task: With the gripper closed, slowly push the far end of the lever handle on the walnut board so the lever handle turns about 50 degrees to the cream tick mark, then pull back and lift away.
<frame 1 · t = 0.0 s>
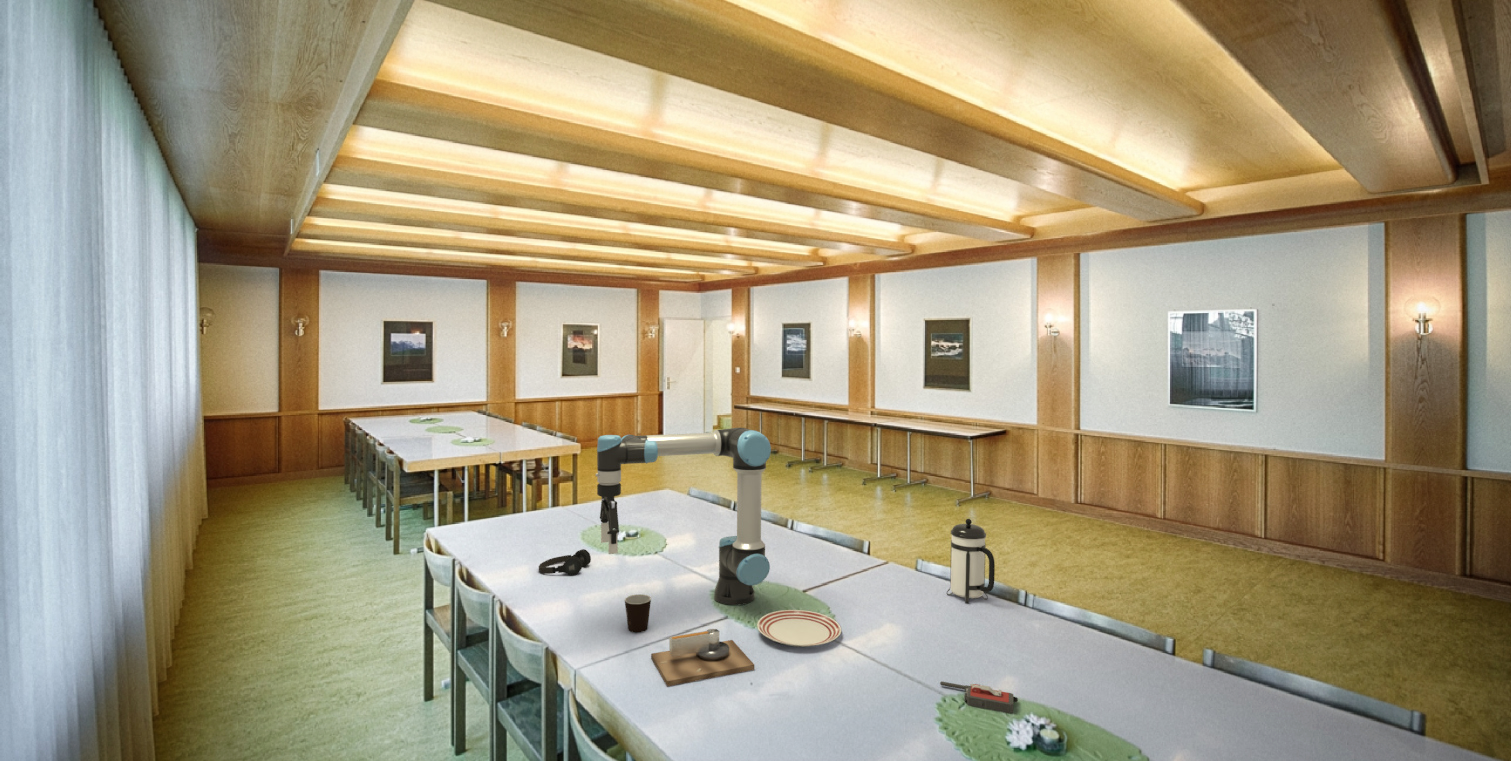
hand: (609, 547, 215), 28 cm above the table, fingers open, 13 cm apart
coffee press: (970, 598, 250), on the table
lever handle: (699, 644, 196), point 5 cm above the table, hinge at 0.0°
walkie-talkie: (977, 701, 176), on the table
dial board: (701, 664, 194), on the table
coffee mug: (639, 627, 221), on the table
headphones: (563, 570, 279), on the table
dinner plate: (798, 635, 216), on the table
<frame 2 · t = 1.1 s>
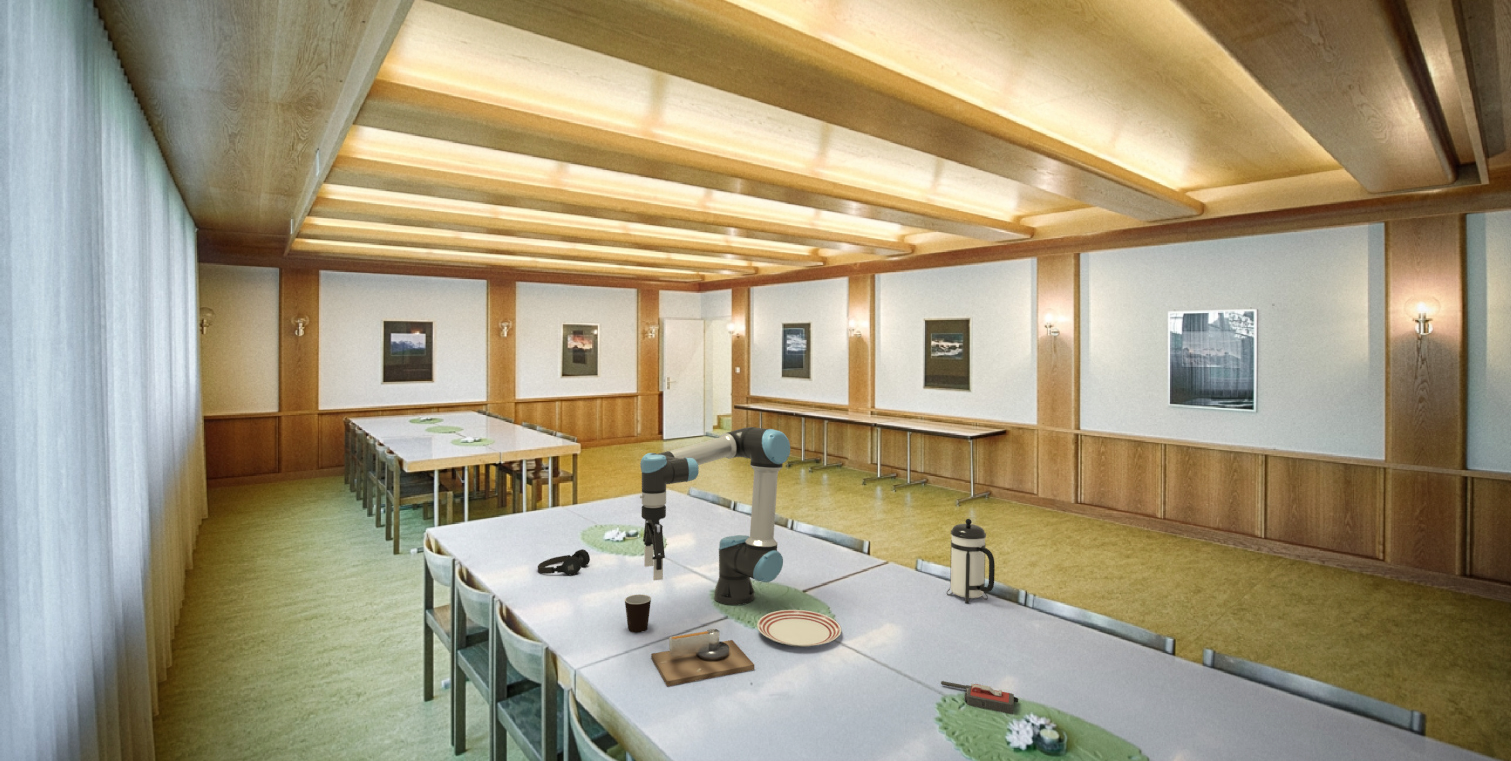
hand: (653, 572, 206), 23 cm above the table, fingers open, 13 cm apart
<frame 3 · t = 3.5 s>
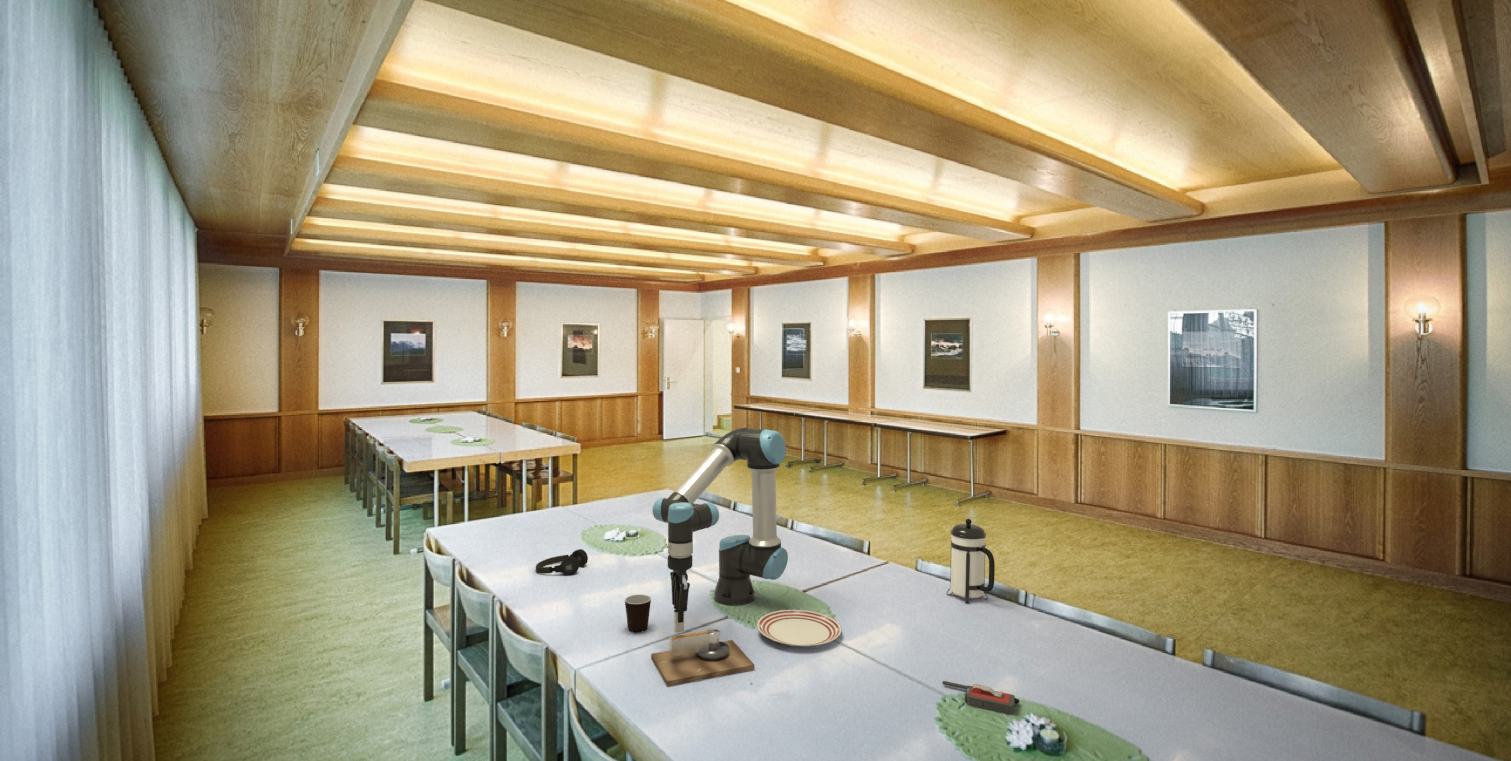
hand: (679, 631, 201), 7 cm above the table, fingers closed
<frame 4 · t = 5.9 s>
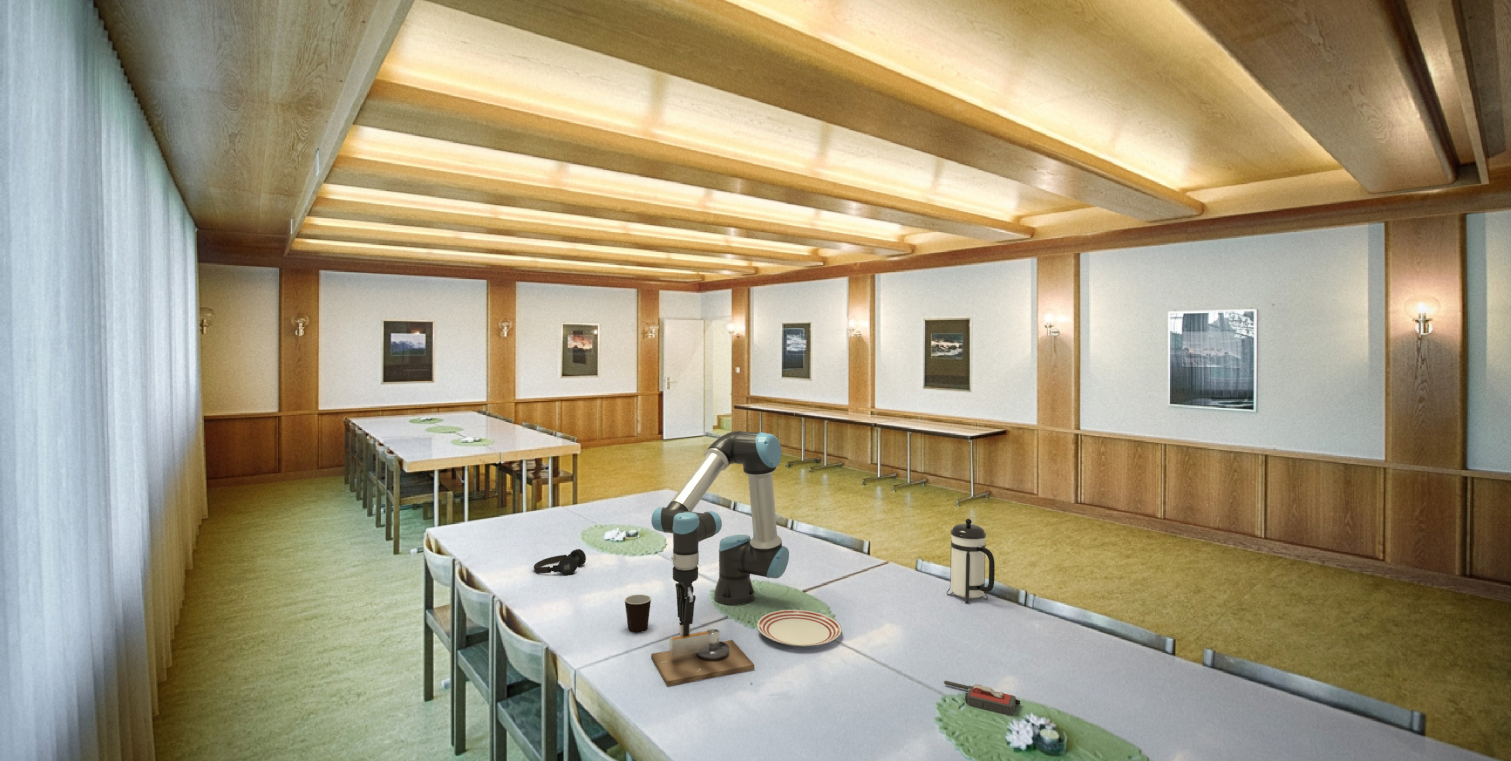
hand: (684, 644, 196), 5 cm above the table, fingers closed
lever handle: (700, 644, 196), point 5 cm above the table, hinge at 1.9°, touching gripper
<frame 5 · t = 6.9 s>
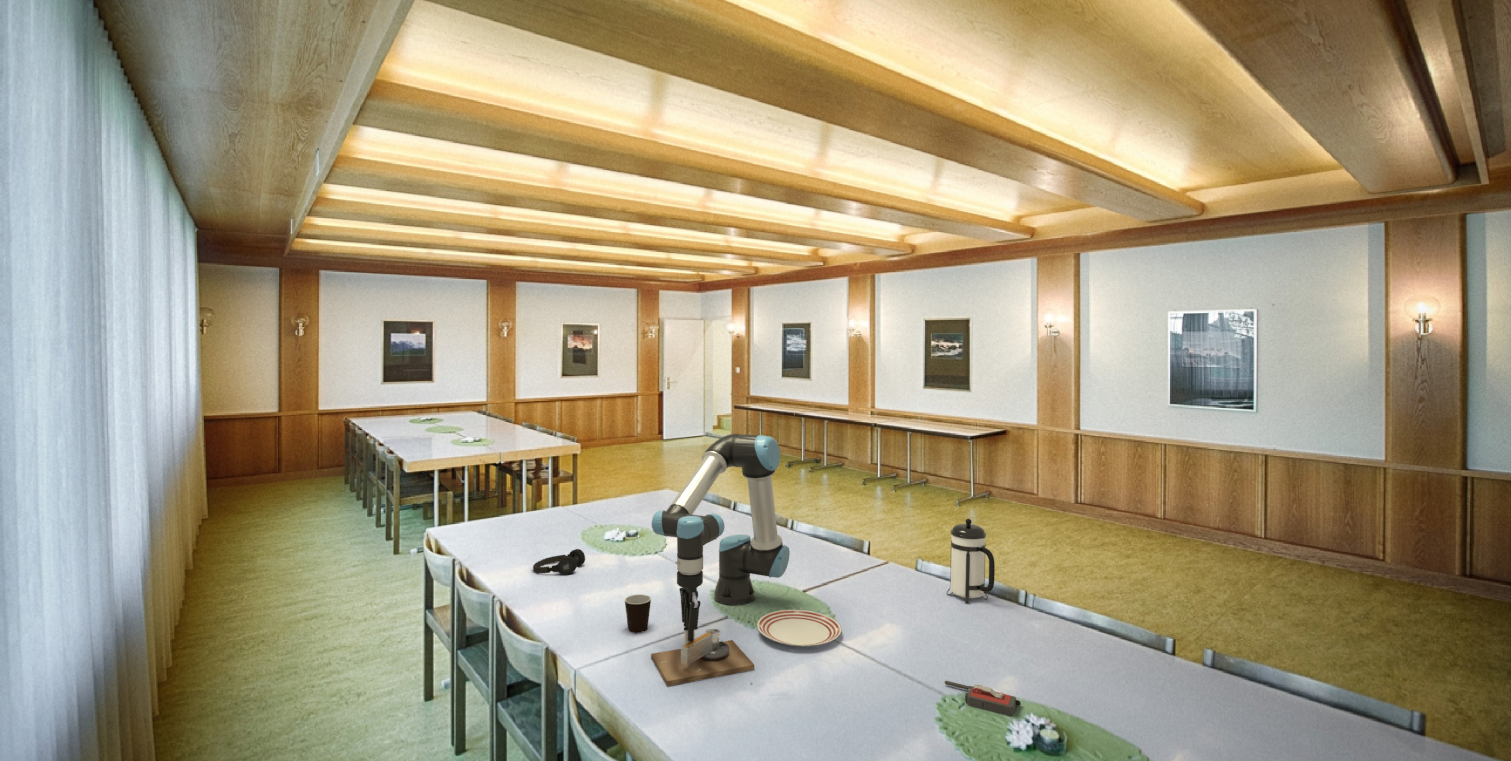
hand: (689, 649, 193), 5 cm above the table, fingers closed
lever handle: (704, 646, 194), point 5 cm above the table, hinge at 32.4°, touching gripper
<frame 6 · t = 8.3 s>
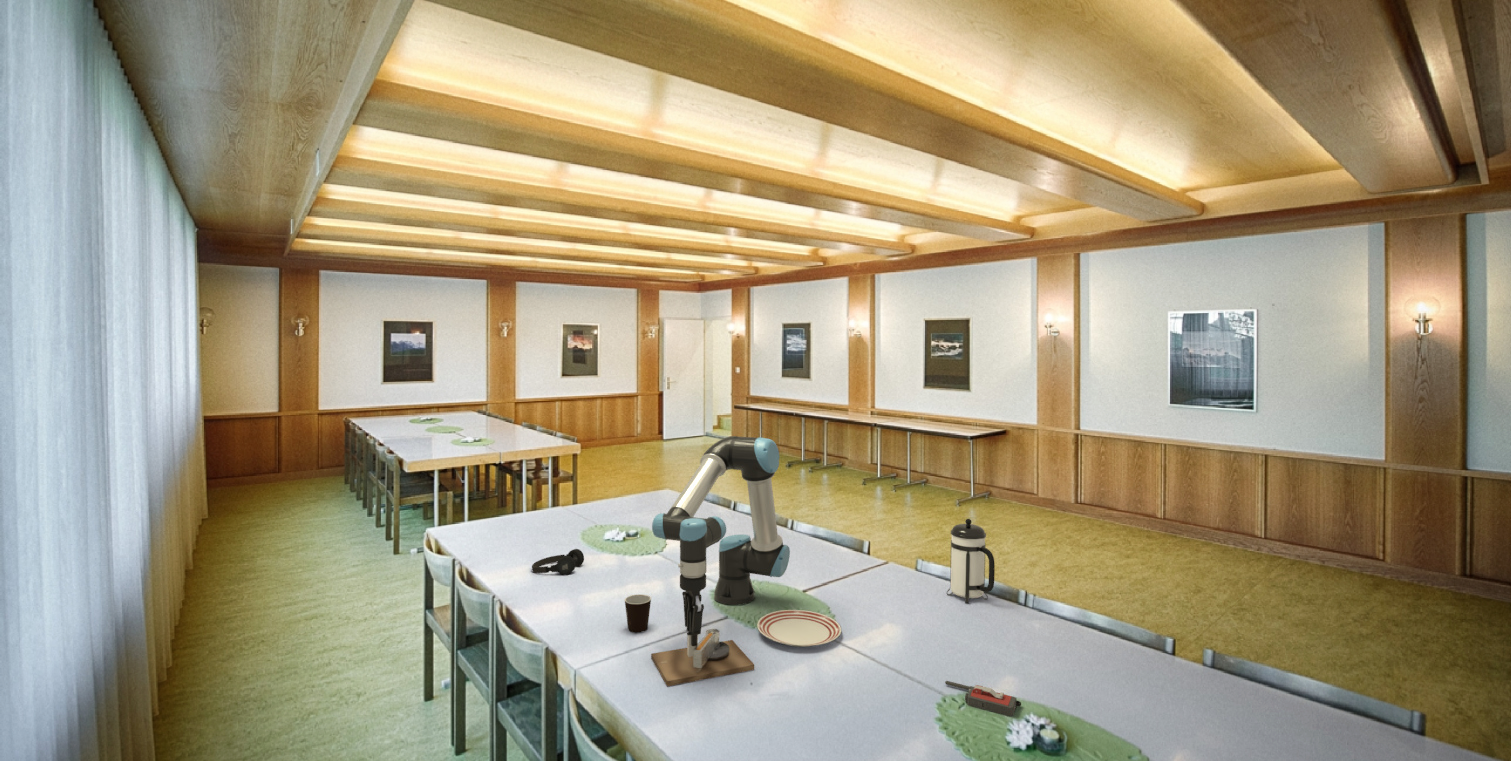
hand: (692, 654, 190), 5 cm above the table, fingers closed
lever handle: (708, 647, 194), point 5 cm above the table, hinge at 51.6°
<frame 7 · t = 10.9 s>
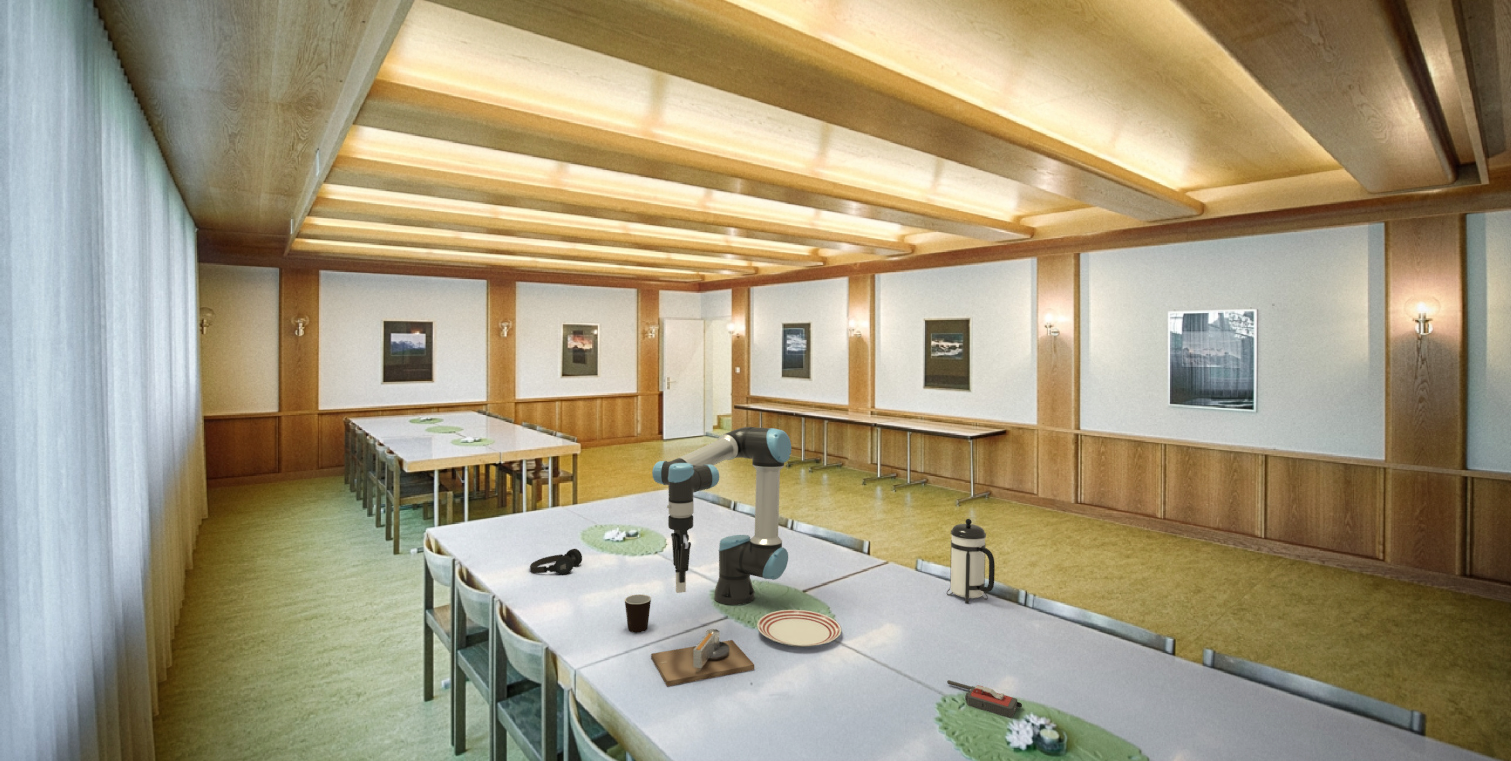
hand: (680, 591, 200), 19 cm above the table, fingers closed
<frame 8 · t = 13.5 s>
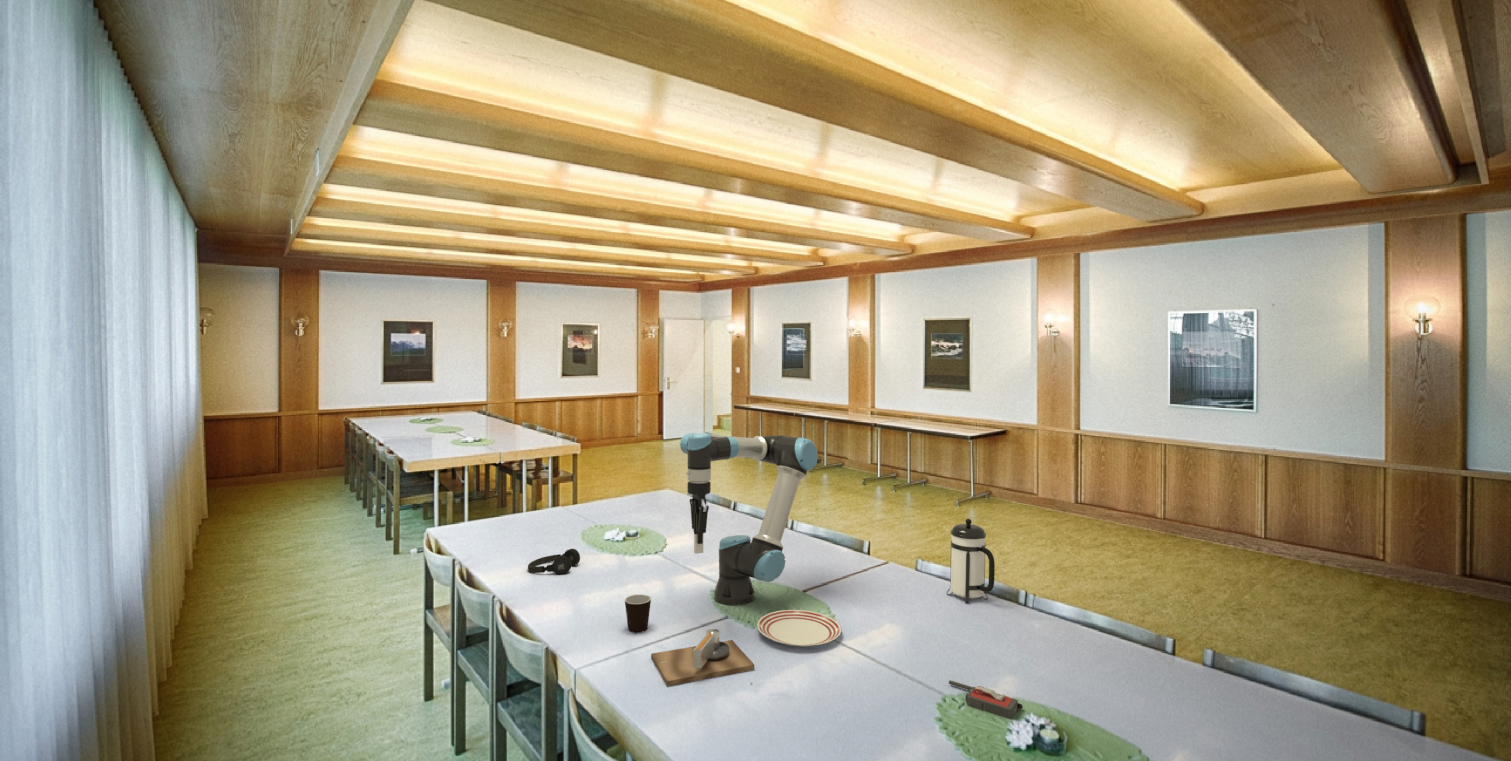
hand: (698, 552, 216), 26 cm above the table, fingers closed
at the end: lever handle at +52° (first picture: +0°) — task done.
